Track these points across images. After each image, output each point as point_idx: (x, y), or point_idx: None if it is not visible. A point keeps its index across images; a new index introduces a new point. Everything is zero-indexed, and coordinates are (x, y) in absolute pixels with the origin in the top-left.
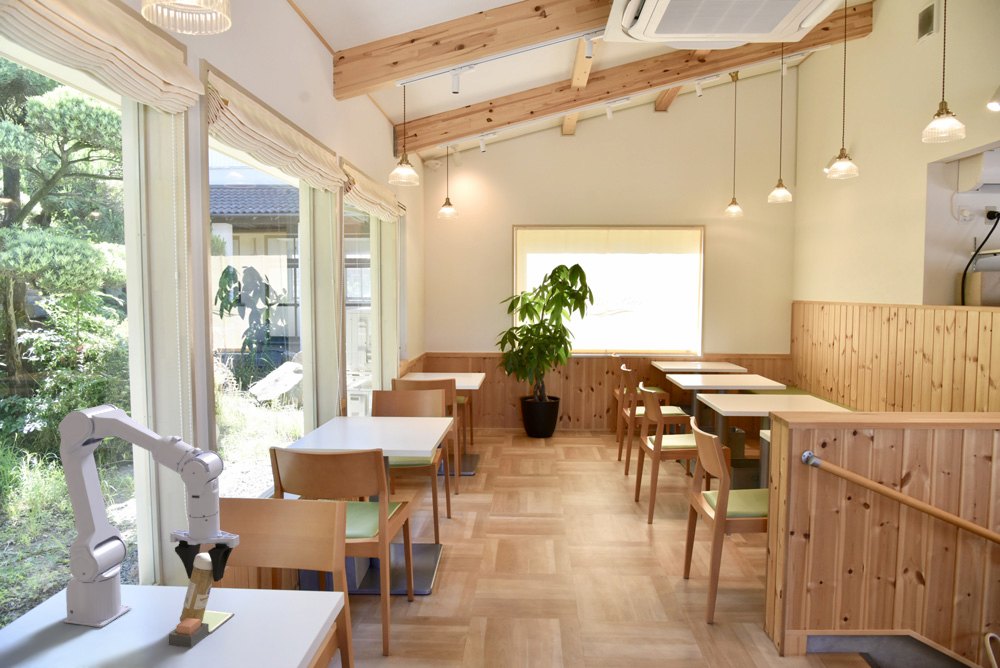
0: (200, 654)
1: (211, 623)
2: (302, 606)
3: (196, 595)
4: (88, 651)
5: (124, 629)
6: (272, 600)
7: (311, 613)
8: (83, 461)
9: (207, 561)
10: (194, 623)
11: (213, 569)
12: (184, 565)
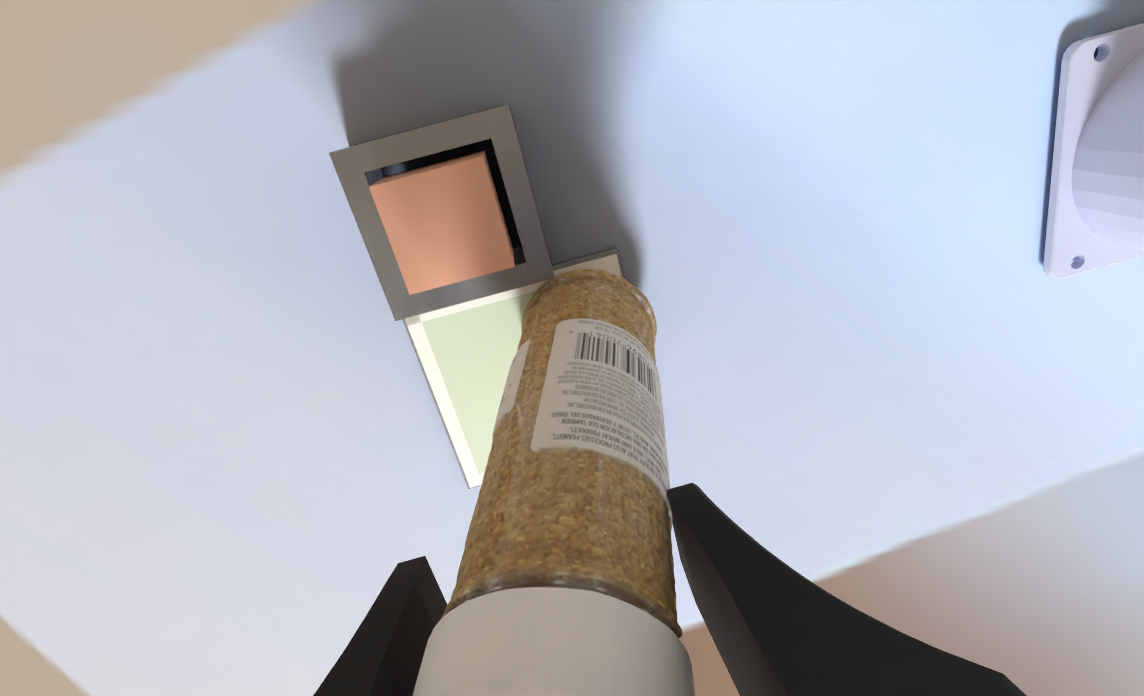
0: (231, 124)
1: (481, 371)
2: (248, 674)
3: (518, 397)
4: None
5: (914, 104)
6: None
7: (144, 658)
8: None
9: None
10: (392, 238)
11: (373, 654)
12: (764, 558)
